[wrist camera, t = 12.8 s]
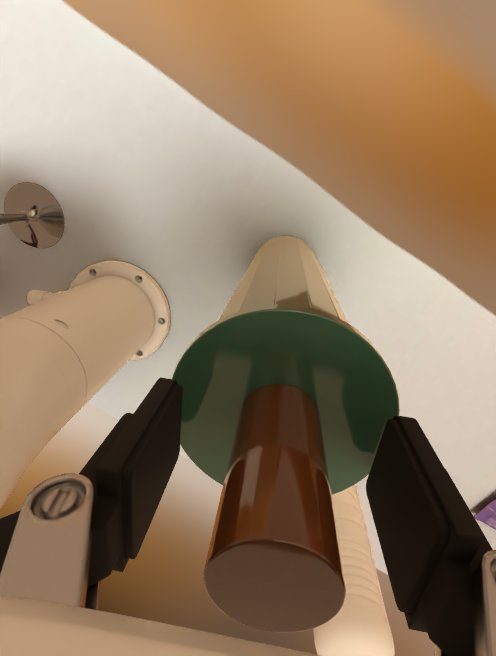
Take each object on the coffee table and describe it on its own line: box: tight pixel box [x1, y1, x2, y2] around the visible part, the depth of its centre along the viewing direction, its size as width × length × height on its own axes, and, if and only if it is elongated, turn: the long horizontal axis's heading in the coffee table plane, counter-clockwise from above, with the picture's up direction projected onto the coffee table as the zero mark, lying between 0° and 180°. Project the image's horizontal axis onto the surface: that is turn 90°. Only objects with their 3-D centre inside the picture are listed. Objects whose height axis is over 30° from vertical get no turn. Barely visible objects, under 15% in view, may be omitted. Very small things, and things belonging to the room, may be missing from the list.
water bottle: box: [314, 484, 395, 656], centre depth 35 cm, size 9×6×25 cm
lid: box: [172, 304, 399, 632], centre depth 10 cm, size 8×8×7 cm
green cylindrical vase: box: [219, 236, 348, 323], centre depth 24 cm, size 7×7×26 cm
